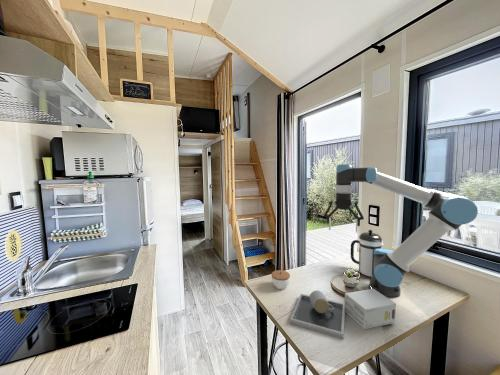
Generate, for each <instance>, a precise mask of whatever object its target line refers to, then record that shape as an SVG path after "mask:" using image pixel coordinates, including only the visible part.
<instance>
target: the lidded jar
mask: <svg viewBox="0 0 500 375" xmlns="http://www.w3.org/2000/svg"><path fill="white" fill-rule="evenodd" d="M290 280H291V274H290V272H288V271H287V270H282V269H281V270H278V269H277V270H274V271H272V272H271V282H272V284H273V286H274V287H275V288H276V289H277V290H285V289H287V287H288V286H289V284H290Z"/></svg>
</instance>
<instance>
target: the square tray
mask: <svg viewBox="0 0 500 375" xmlns="http://www.w3.org/2000/svg"><path fill="white" fill-rule="evenodd" d="M309 297H310V295H309V294H302V293H300V294H299V297H298V300H297V302H296V304H295V306H294V309H293V311H292V314H291V316H290V319H289V324H291V325H294V326H297V327H301V328H304V329H307V330H311V331H315V332H318V333H320V334H321V333H322V334H326V335H328V336H332V337H335V338H338V339H342V340H344V339H345V338H344V337H345V321H346V320H345V318H346V312H345V307H344V303H342V302H339V301H333V300H331V299H330V300H329V299H327V301H328V303H329V304H331V305H332V306H333V308H334V310H333V312H330V311H327V312H325V313H318V312H317V311H316V310H315V309H314V307H313V306H312V304H311V302H310V299H309Z"/></svg>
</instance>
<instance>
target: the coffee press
mask: <svg viewBox="0 0 500 375" xmlns="http://www.w3.org/2000/svg"><path fill="white" fill-rule="evenodd" d="M358 238H359V240H358V239H355V240H352V241H351V243H350V259H351V261H352V263H355V265H356V264H357V265H358V270H357V272H359V273H361V274H362V275H365V276H368V277H371V278H372V276H373V262H374V254H373V253H374V250H375V249H382V246H384V241H383V238H382V237H381V236H380V235H379V234H377V233H375V232H373V230H372V229H368V232H367V231H366V232H362V233H360V235H359V236H358ZM355 244H359V249H358V250H359V252H358V253H359V254H358V255H359V256H358V258H359V259H358V260H356V259H355V255H354V254H355V251H354V250H355ZM361 274H360V275H361Z"/></svg>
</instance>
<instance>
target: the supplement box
mask: <svg viewBox="0 0 500 375" xmlns="http://www.w3.org/2000/svg"><path fill="white" fill-rule="evenodd" d="M343 304H344V307H345V314H347V315H348V316H349V317H350V318H351V319H352V320H353V321H354V322H356V323H357V324H358V326H359V327H360V328H362V329H363V330H367V329H372V328H376V327H380V326H385V325H386V326H387V325H390V324H394V323H396V313H397V312H396V308H397V303H396V302H394V301H393V300H392V299H391V298H388V296H384V295H382V294H381V293H379V292H378V291H376V290H375V289H371V288H367V289H363V290H356V291H351V292H345V293H344V303H343Z"/></svg>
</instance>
